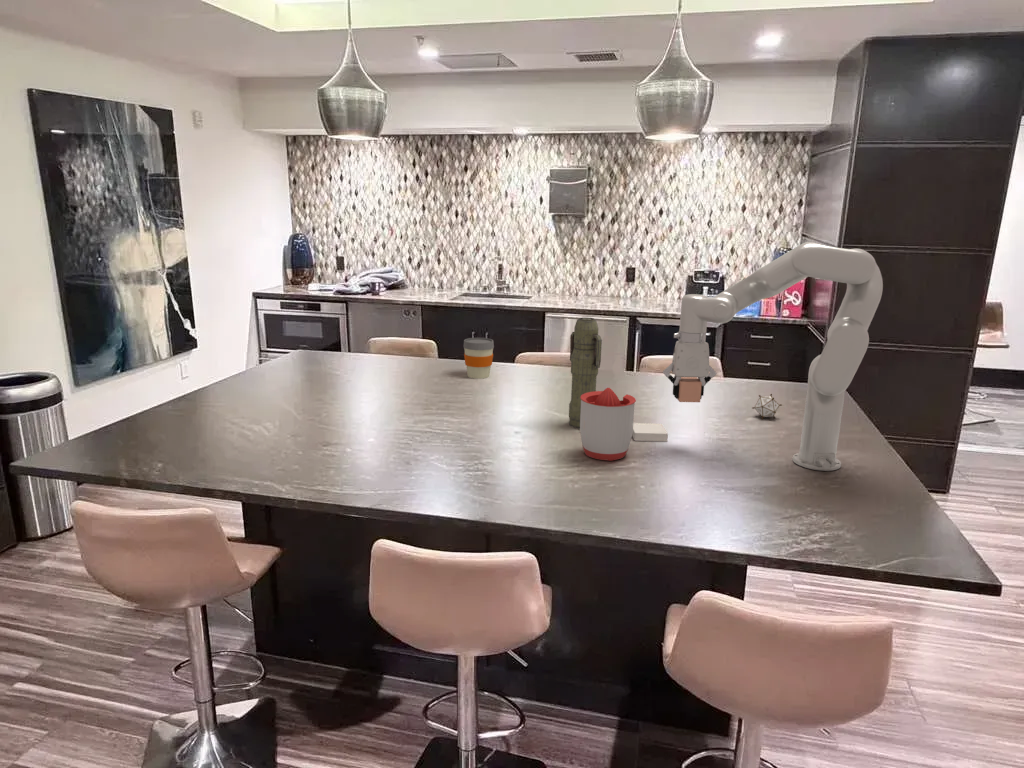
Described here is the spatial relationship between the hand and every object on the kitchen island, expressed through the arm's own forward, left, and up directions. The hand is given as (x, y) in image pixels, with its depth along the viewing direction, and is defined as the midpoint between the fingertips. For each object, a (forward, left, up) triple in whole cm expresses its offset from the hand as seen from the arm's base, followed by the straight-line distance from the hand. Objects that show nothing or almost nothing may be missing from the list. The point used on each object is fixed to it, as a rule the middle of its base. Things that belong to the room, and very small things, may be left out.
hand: (687, 397), depth 209 cm
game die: (+32, -35, -16) cm, 50 cm away
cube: (0, 0, -1) cm, 1 cm away
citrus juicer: (-8, +24, -16) cm, 30 cm away
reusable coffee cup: (+82, +67, -16) cm, 107 cm away
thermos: (+19, +29, -16) cm, 38 cm away
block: (+9, +9, -15) cm, 20 cm away
